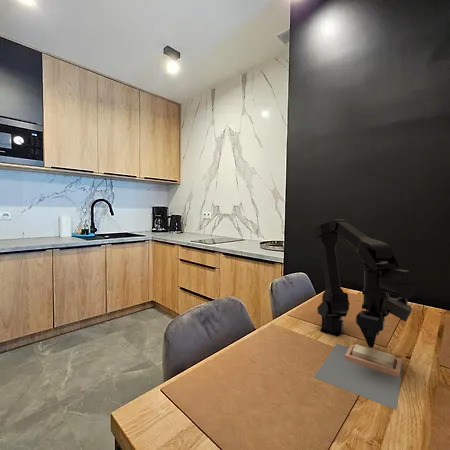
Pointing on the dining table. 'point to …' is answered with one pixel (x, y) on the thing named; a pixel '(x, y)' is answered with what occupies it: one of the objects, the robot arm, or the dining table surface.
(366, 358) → the tan oblong block
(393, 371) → the frame
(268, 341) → the dining table surface
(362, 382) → the mat
